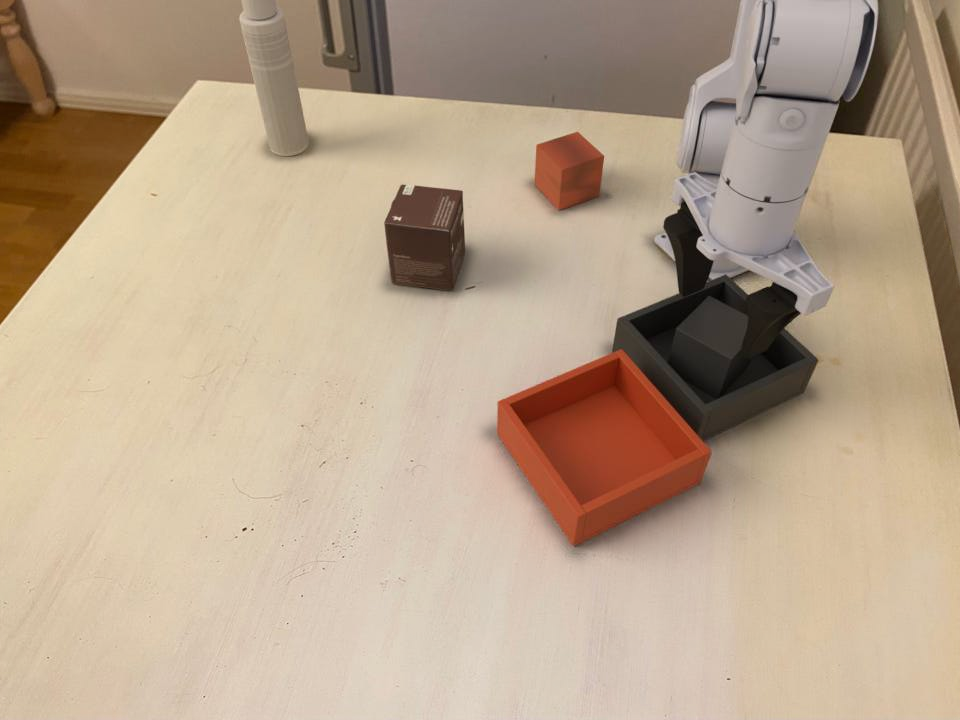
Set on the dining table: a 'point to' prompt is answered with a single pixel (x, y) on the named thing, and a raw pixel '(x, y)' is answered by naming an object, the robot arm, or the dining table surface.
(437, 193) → the box
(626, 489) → the rust bin
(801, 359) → the charcoal bin
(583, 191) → the red block
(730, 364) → the grey block
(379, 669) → the dining table surface
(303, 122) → the bottle
